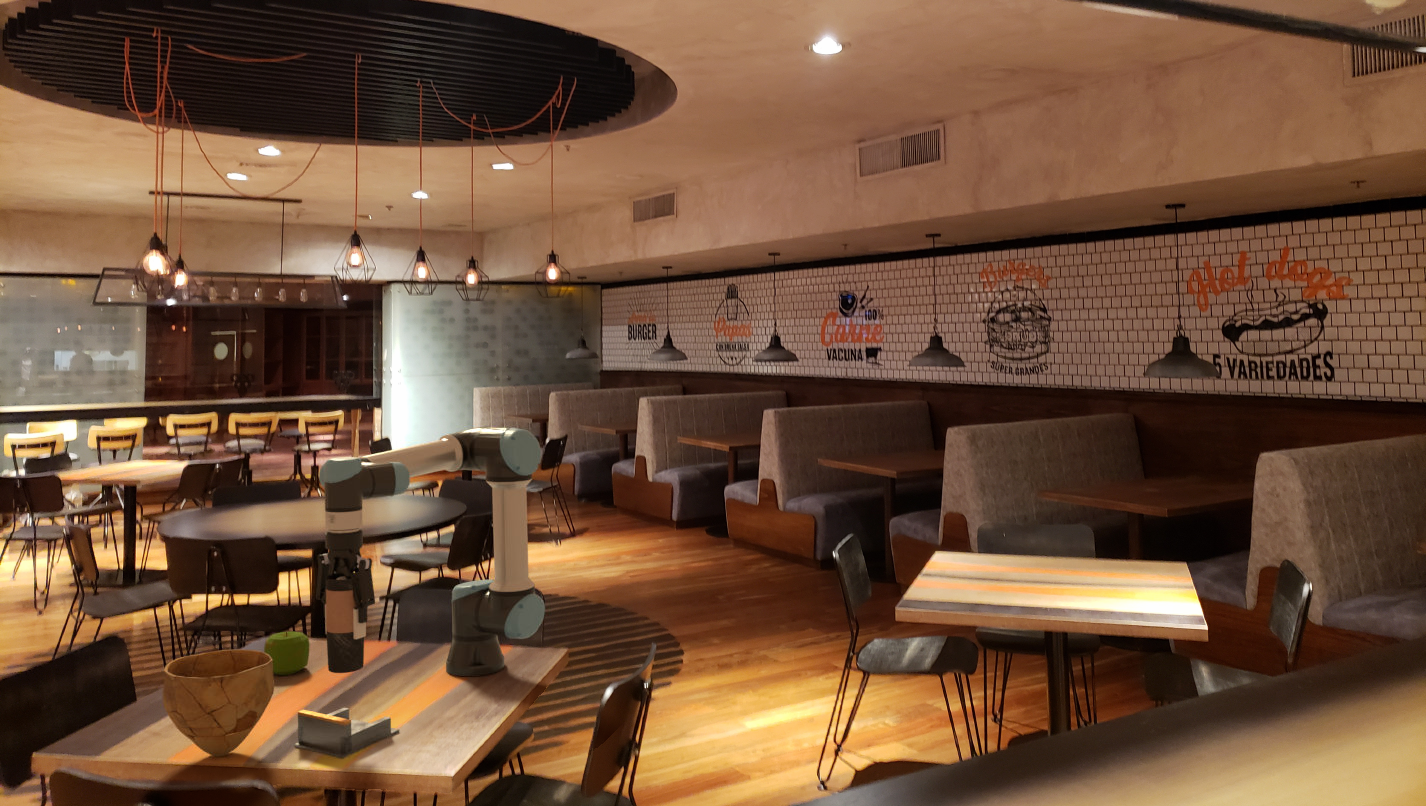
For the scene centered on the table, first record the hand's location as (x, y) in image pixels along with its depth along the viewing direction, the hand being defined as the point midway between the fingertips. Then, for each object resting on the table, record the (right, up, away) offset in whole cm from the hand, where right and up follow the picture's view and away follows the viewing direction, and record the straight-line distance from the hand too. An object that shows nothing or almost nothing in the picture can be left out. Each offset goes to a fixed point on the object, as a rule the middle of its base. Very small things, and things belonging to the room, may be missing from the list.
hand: (345, 635), depth 210 cm
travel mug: (0, -7, 0) cm, 7 cm away
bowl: (-23, -23, -7) cm, 34 cm away
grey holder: (0, -23, +1) cm, 23 cm away
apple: (-34, -21, +48) cm, 62 cm away
